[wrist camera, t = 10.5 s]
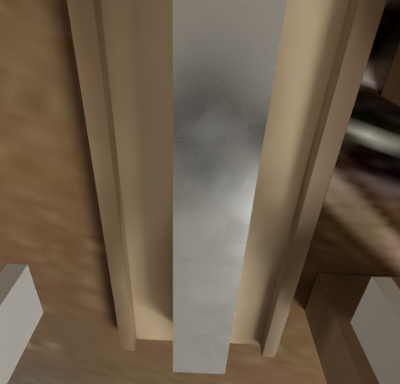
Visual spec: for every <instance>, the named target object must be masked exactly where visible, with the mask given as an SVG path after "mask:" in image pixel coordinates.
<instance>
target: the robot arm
mask: <svg viewBox="0 0 400 384" xmlns="http://www.w3.org/2000/svg"><path fill="white" fill-rule="evenodd" d="M42 314H43V310H42V307H41V304H40V301H39V298H38V295H37V292H36V289H35V286H34V283H33V280H32V277H31V274H30V271H29V268H28V265H22V264H7V265H6V266H5V267H4V269H3V270H2V271H1V273H0V384H7V383H8V381H9V379H10V377H11V375H12V373H13V371H14V369H15V367H16V365H17V363H18V361H19V359H20V357H21V355H22V353H23V351H24V349H25V347H26V346H27V344H28V342H29V340H30V338H31V336H32V334H33V332H34V330H35V328H36V326H37V324H38V322H39V320H40V318H41V316H42ZM350 323H351V325H352V327H353V329H354V331H355V333H356V335H357V337H358V340H359V342H360V344H361V346H362V348H363V350H364V352H365V354H366V357H367V359H368V361H369V363H370V365H371V367H372V369H373V372H374V374H375V376H376V378H377V380H378V382H379V384H400V289H399V288H398V286H397V285H396V284H395V282H394V281H393V279H392V278H391V277H371V279H370V281H369V284H368V286H367V288H366V290H365V292H364V294H363V296H362V299H361V301H360V303H359V305H358V307H357V309H356V311H355V313H354V316H353V318H352V320H351V322H350Z"/></svg>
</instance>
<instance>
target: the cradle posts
mask: <svg viewBox="0 0 400 384" xmlns="http://www.w3.org/2000/svg"><path fill="white" fill-rule="evenodd" d="M381 96H382V97H384V98H386V99H388V100H389V101H391V102H393V103H395V104H396V105H398V106H400V42H399V45H398V48H397V51H396V53H395V56H394V59H393V62H392V65H391V67H390V70H389V73H388V76H387V79H386V82H385V84H384V87H383V90H382V93H381ZM371 277H391V278H392V279H393V281H394V282H395V284H396V285H397V286H398V288H399V289H400V277H393V276H372V275H351V274H331V273H318V274H317V277H316V279H315V282H314V285H313V288H312V291H311V294H310V296H309V299H308V302H307V305H306V308H305V313H306V317H307V320H308V323H309V326H310V330H311V333H312V336H313V339H314V343H315V346H316V349H317V352H318V355H319V359H320V362H321V365H322V368H323V372H324V375H325V378H326V381H327V384H379V382H378V380H377V378H376V376H375V374H374V372H373V369H372V367H371V365H370V363H369V361H368V359H367V357H366V354H365V352H364V350H363V348H362V346H361V344H360V342H359V340H358V337H357V335H356V333H355V331H354V329H353V327H352V325H351V323H350V322H351V320H352V318H353V316H354V313H355V311H356V309H357V307H358V305H359V303H360V301H361V299H362V296H363V294H364V292H365V290H366V288H367V286H368V284H369V281H370V279H371Z"/></svg>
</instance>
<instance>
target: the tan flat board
mask: <svg viewBox="0 0 400 384" xmlns="http://www.w3.org/2000/svg"><path fill="white" fill-rule="evenodd" d="M386 1H387V0H287V2H286V8H285V14H284V20H283V26H282V32H281V38H280V44H279V50H278V56H277V62H276V68H275V74H274V80H273V86H272V92H271V98H270V104H269V110H268V116H267V122H266V128H265V134H264V140H263V146H262V152H261V158H260V164H259V170H258V176H257V182H256V188H255V194H254V200H253V206H252V212H251V218H250V225H249V231H248V237H247V243H246V249H245V255H244V261H243V267H242V273H241V279H240V285H239V291H238V297H237V303H236V309H235V315H234V321H233V327H232V333H231V339H230V343H238V344H259V345H260V346H261V353H262V357H275V355H276V352H277V349H278V346H279V342H280V339H281V336H282V333H283V330H284V326H285V323H286V320H287V317H288V314H289V310H290V307H291V304H292V301H293V298H294V294H295V291H296V288H297V285H298V282H299V278H300V275H301V272H302V269H303V266H304V263H305V259H306V256H307V253H308V250H309V247H310V243H311V240H312V237H313V234H314V231H315V227H316V224H317V221H318V218H319V215H320V211H321V208H322V205H323V202H324V199H325V196H326V192H327V189H328V186H329V183H330V180H331V176H332V173H333V170H334V167H335V164H336V160H337V157H338V154H339V151H340V148H341V144H342V141H343V138H344V135H345V132H346V129H347V125H348V122H349V119H350V116H351V113H352V109H353V106H354V103H355V100H356V97H357V93H358V90H359V87H360V84H361V81H362V77H363V74H364V71H365V68H366V65H367V61H368V58H369V55H370V52H371V49H372V46H373V42H374V39H375V36H376V33H377V30H378V26H379V23H380V20H381V17H382V14H383V10H384V7H385V4H386ZM67 5H68V12H69V18H70V24H71V31H72V37H73V44H74V50H75V56H76V63H77V69H78V76H79V82H80V88H81V95H82V101H83V108H84V114H85V120H86V127H87V133H88V140H89V146H90V152H91V159H92V165H93V171H94V178H95V184H96V191H97V197H98V203H99V210H100V216H101V223H102V229H103V235H104V242H105V248H106V255H107V261H108V267H109V274H110V280H111V287H112V293H113V299H114V306H115V312H116V319H117V325H118V331H119V338H120V344H121V350H128V351H134V350H135V345H136V340H137V339H152V340H173V0H67Z"/></svg>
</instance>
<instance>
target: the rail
mask: <svg viewBox="0 0 400 384" xmlns="http://www.w3.org/2000/svg"><path fill="white" fill-rule="evenodd" d="M286 2H287V0H173V372H190V373H212V374H225V369H226V363H227V357H228V351H229V345H230V339H231V333H232V327H233V321H234V315H235V309H236V303H237V297H238V291H239V285H240V279H241V273H242V267H243V261H244V255H245V249H246V243H247V237H248V231H249V225H250V218H251V212H252V206H253V200H254V194H255V188H256V182H257V176H258V170H259V164H260V158H261V152H262V146H263V140H264V134H265V128H266V122H267V116H268V110H269V104H270V98H271V92H272V86H273V80H274V74H275V68H276V62H277V56H278V50H279V44H280V38H281V32H282V26H283V20H284V14H285V8H286Z"/></svg>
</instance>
